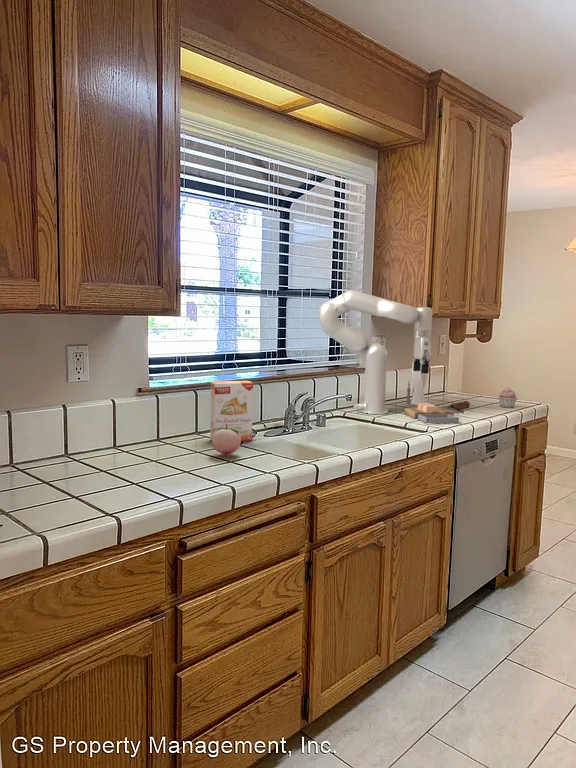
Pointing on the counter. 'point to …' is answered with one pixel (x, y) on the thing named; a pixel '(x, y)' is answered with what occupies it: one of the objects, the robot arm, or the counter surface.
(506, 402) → the cupcake
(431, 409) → the tile front
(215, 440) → the decorative fruit
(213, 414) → the cracker box
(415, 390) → the skyscraper
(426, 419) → the tray
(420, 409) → the tile rear
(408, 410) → the board
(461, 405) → the meat cleaver
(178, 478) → the counter surface
